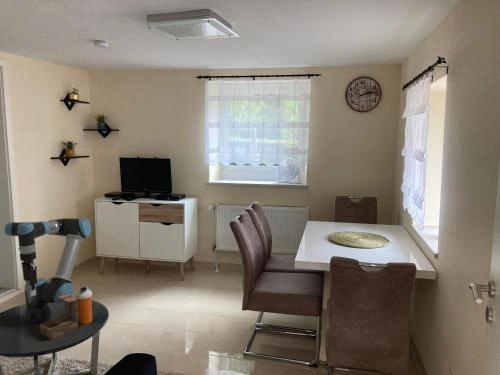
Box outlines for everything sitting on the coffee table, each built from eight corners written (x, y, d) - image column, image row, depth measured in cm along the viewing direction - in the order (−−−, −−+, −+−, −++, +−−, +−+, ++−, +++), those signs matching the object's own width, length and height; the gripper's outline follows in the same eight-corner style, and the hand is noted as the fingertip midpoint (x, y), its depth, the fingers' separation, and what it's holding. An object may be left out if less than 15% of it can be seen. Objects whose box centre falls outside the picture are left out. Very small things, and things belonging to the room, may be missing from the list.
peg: (26, 301, 219) (24, 280, 218) (34, 299, 222) (32, 278, 221) (29, 303, 217) (27, 281, 215) (37, 301, 220) (35, 279, 218)
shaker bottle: (77, 326, 235) (75, 292, 232) (77, 319, 243) (75, 287, 240) (94, 323, 238) (92, 290, 236) (93, 316, 247) (91, 285, 244)
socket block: (40, 333, 227) (37, 302, 225) (68, 322, 240) (66, 293, 237) (51, 339, 220) (48, 308, 217) (79, 328, 232) (76, 298, 230)
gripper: (13, 251, 218) (17, 292, 222) (26, 256, 208) (30, 300, 211) (28, 247, 224) (32, 288, 227) (42, 253, 213) (45, 296, 217)
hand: (31, 294), depth 219 cm, fingers closed on peg, 4 cm apart
